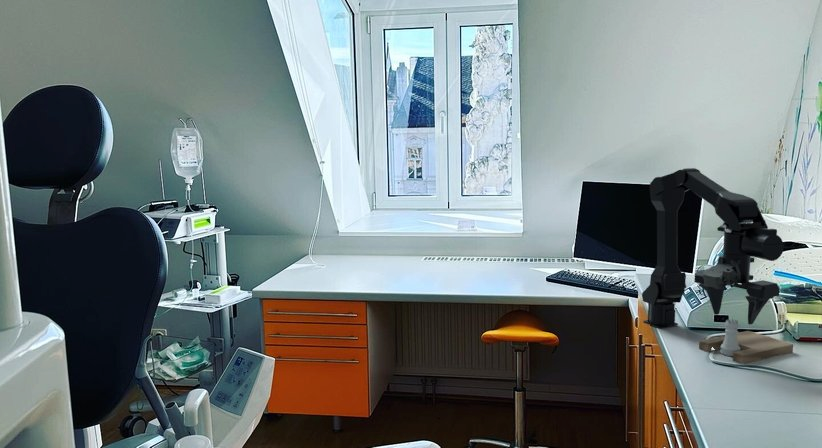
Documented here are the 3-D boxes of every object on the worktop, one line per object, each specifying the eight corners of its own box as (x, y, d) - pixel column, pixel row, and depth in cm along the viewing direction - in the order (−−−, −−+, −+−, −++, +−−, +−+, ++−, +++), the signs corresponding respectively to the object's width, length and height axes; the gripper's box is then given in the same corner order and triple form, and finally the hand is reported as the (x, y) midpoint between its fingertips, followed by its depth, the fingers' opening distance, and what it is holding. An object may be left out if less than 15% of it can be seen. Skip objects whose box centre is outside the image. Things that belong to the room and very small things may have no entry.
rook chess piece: (734, 350, 162) (736, 317, 161) (744, 356, 158) (746, 323, 157) (716, 350, 162) (718, 318, 161) (725, 357, 158) (727, 323, 157)
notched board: (699, 348, 164) (699, 340, 164) (747, 338, 171) (748, 330, 171) (742, 364, 153) (742, 355, 153) (792, 352, 161) (793, 344, 160)
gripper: (679, 249, 161) (676, 314, 164) (748, 263, 145) (743, 334, 147) (712, 245, 166) (709, 308, 168) (783, 258, 150) (778, 327, 152)
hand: (733, 319), depth 159 cm, fingers open, 9 cm apart
